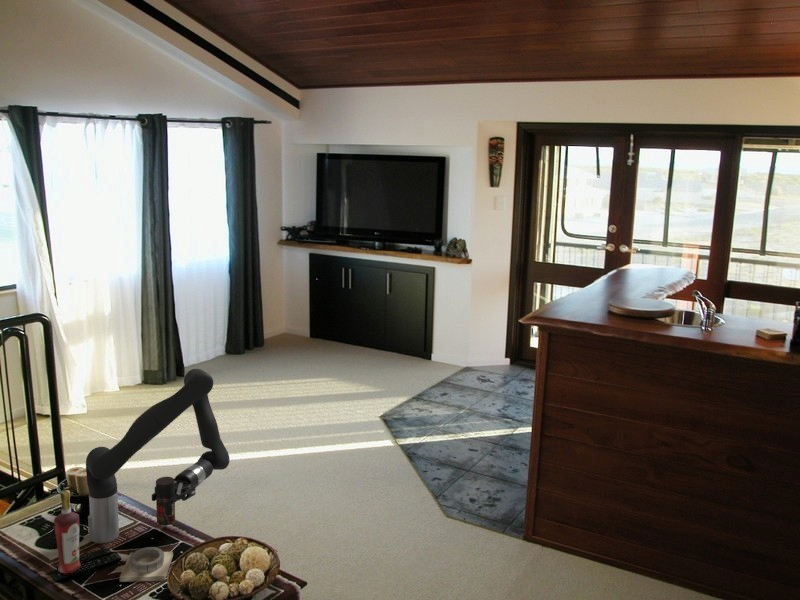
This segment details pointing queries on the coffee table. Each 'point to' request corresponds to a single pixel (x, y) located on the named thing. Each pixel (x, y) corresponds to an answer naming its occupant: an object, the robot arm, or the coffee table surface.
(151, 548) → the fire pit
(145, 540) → the coffee table surface
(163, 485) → the deodorant
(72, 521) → the liquor
